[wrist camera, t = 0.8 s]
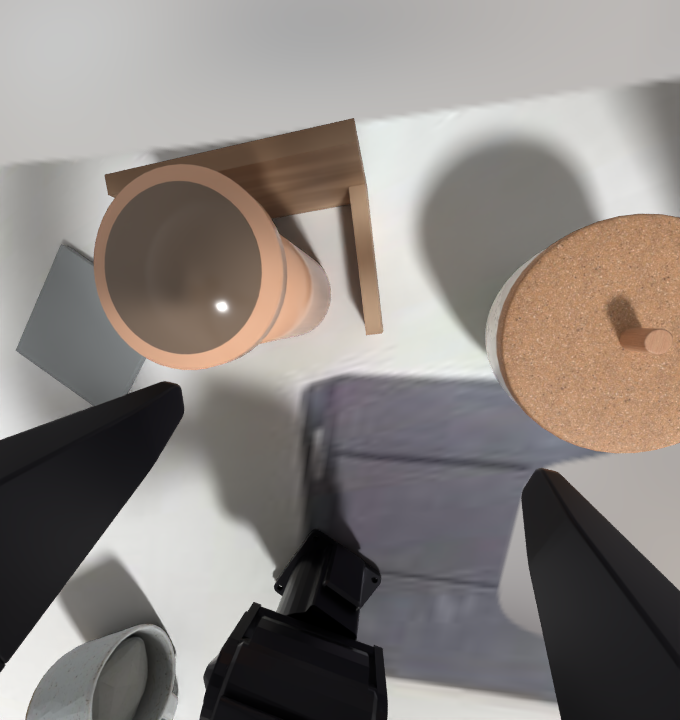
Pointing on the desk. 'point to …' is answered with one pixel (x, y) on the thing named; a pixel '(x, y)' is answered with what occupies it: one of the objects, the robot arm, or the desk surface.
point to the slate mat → (78, 334)
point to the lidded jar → (596, 335)
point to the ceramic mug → (111, 679)
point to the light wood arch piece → (297, 186)
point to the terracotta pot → (201, 270)
